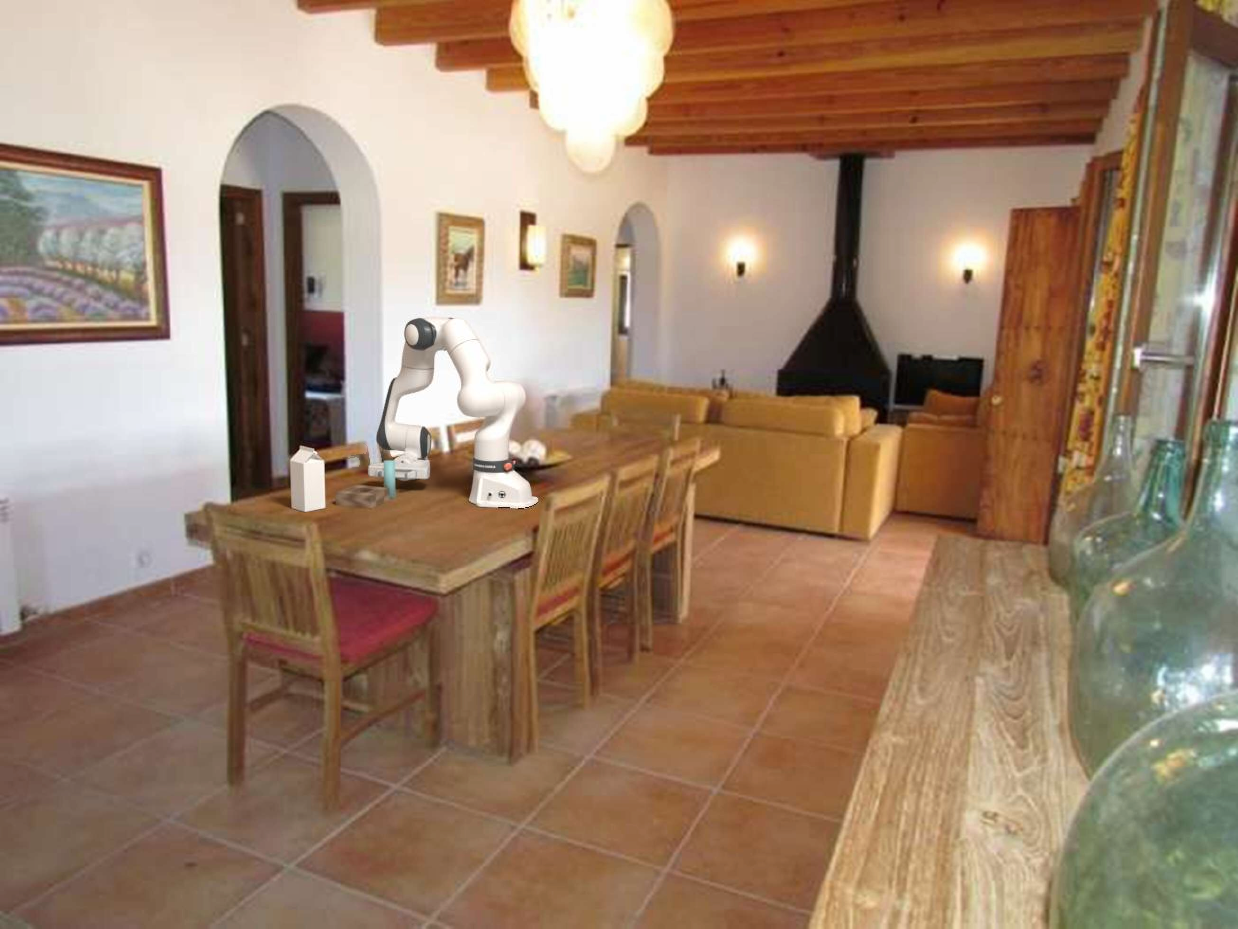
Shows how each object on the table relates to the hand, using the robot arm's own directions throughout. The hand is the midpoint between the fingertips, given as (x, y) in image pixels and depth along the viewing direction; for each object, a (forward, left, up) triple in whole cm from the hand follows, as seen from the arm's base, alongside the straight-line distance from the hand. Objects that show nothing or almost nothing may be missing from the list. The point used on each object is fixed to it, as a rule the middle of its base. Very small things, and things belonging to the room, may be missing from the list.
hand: (392, 475), depth 287 cm
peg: (0, +3, -7) cm, 7 cm away
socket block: (+4, +13, -7) cm, 15 cm away
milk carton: (+15, +26, -7) cm, 30 cm away
